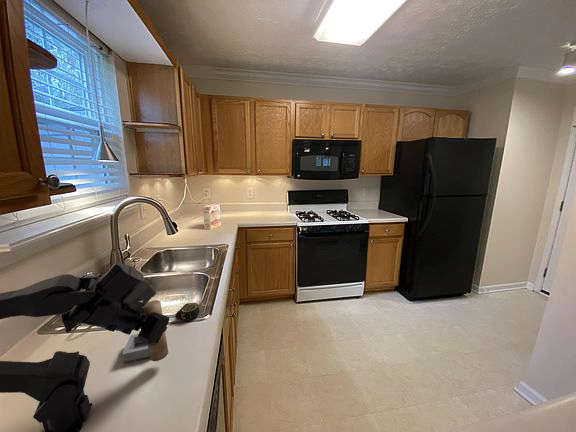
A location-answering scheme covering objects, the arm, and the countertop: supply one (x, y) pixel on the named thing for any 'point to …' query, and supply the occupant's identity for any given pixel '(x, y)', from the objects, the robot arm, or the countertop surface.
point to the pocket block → (135, 350)
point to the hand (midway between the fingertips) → (159, 326)
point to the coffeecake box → (212, 216)
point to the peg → (161, 348)
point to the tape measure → (188, 311)
